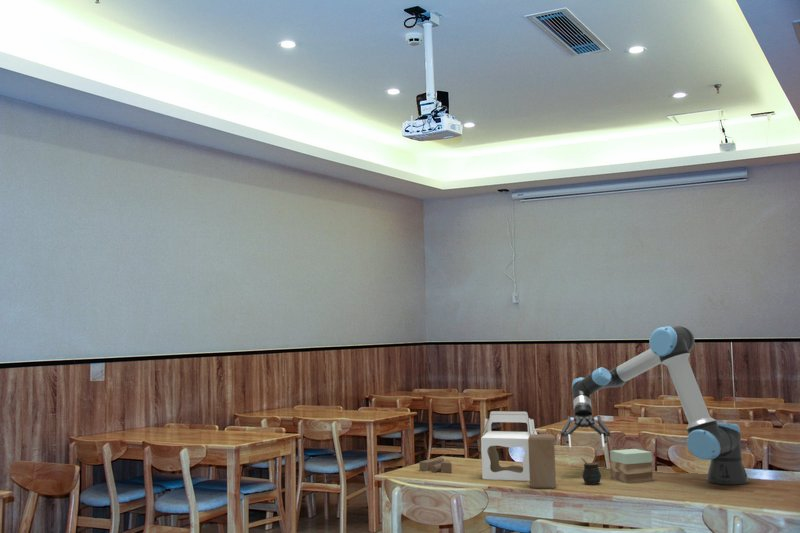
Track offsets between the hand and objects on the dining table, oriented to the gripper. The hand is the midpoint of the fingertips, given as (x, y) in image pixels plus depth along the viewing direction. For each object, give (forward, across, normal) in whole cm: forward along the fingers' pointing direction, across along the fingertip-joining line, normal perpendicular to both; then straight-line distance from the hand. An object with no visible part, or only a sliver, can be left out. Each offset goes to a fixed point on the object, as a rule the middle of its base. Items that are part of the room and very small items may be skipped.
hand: (587, 448), depth 340 cm
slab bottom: (+9, -17, -10) cm, 22 cm away
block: (+19, +19, +1) cm, 27 cm away
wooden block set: (-10, +62, -29) cm, 70 cm away
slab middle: (+6, -18, -7) cm, 20 cm away
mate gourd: (+15, -1, -3) cm, 15 cm away
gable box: (+5, +32, -13) cm, 35 cm away
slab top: (+4, -18, -4) cm, 18 cm away
